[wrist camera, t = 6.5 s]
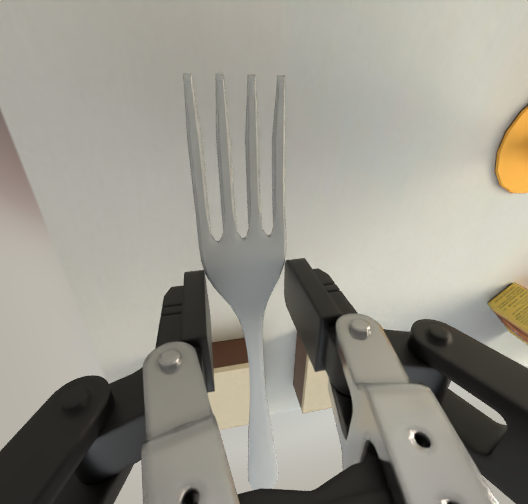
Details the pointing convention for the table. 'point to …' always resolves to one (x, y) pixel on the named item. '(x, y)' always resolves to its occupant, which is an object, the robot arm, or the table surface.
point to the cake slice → (309, 382)
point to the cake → (230, 384)
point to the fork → (244, 248)
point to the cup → (514, 156)
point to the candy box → (513, 310)
